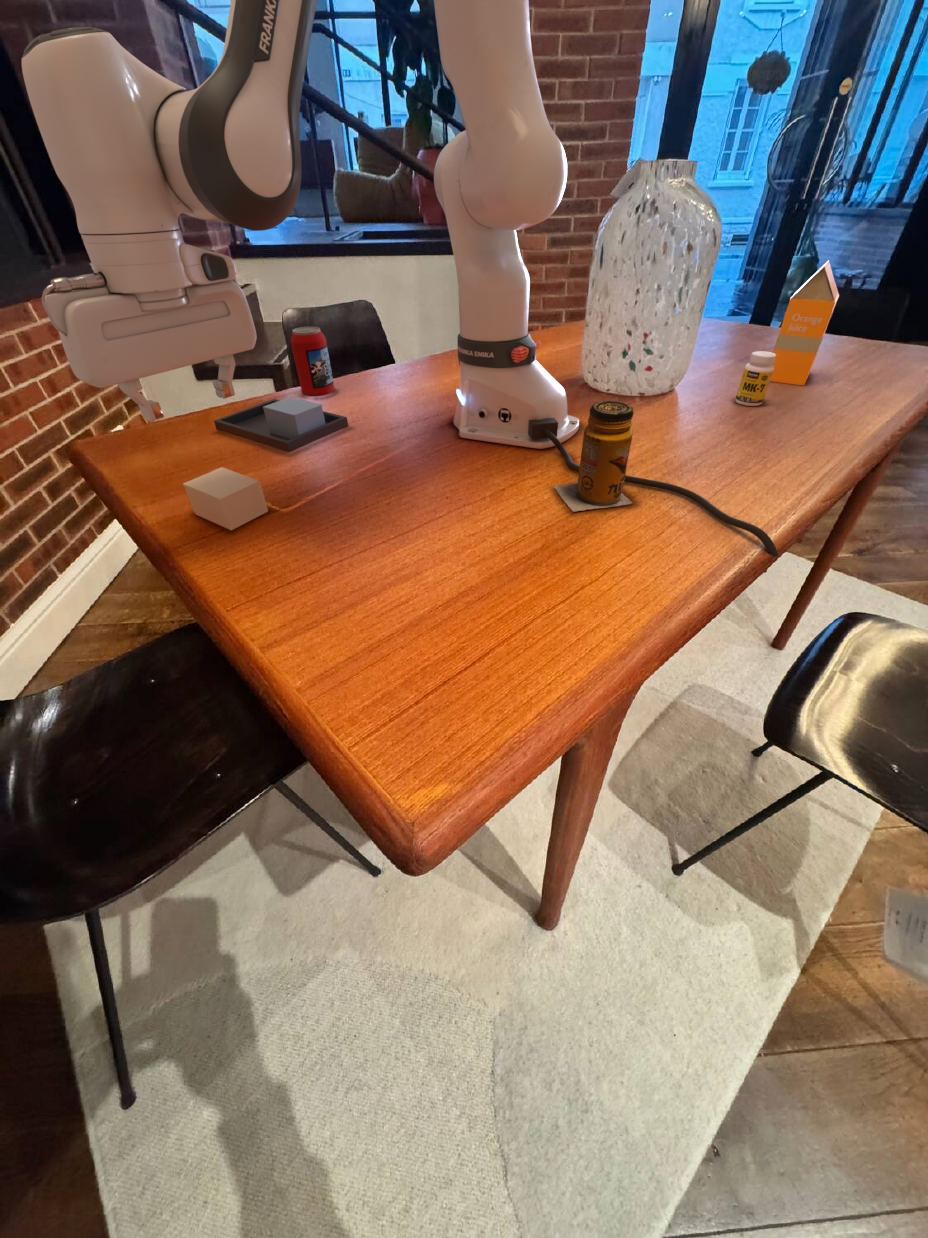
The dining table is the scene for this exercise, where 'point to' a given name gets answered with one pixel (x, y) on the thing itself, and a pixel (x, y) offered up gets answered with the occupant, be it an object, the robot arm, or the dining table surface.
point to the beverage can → (312, 361)
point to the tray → (256, 429)
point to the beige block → (226, 497)
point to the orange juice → (804, 327)
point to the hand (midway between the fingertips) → (192, 407)
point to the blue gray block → (293, 417)
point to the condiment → (602, 459)
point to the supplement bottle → (756, 378)
